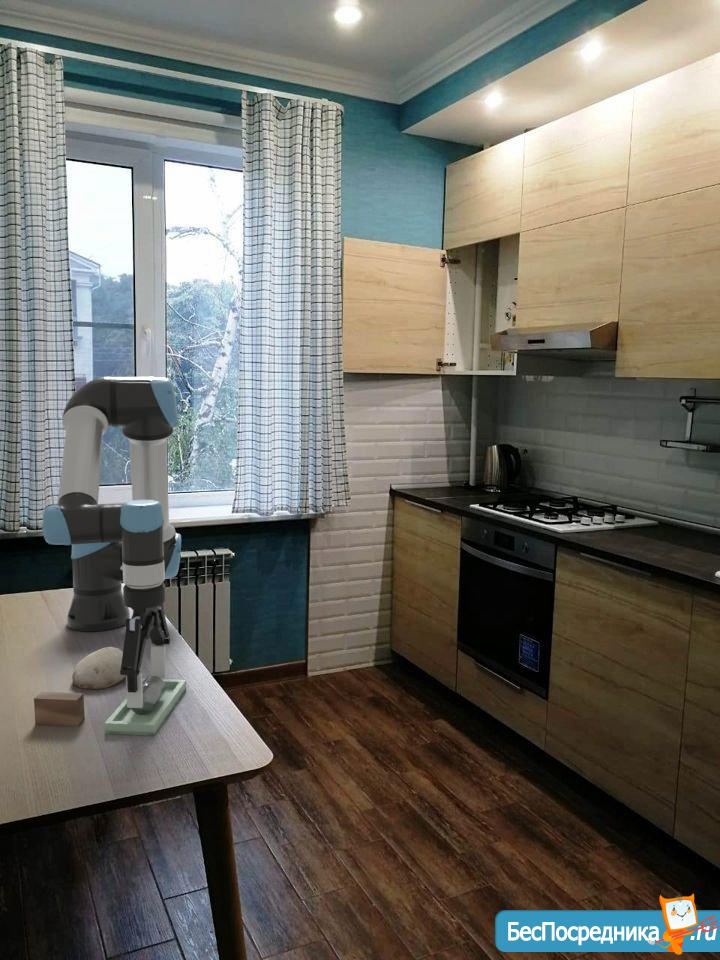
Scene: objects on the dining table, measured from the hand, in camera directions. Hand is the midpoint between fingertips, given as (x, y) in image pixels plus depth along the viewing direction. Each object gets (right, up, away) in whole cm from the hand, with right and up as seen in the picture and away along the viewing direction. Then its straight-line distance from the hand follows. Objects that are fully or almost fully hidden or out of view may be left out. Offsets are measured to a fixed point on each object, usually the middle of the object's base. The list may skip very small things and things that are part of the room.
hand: (147, 691), depth 147 cm
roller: (0, -3, +1) cm, 3 cm away
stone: (-14, -2, +16) cm, 21 cm away
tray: (0, -4, +1) cm, 4 cm away
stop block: (-15, -4, -4) cm, 16 cm away
